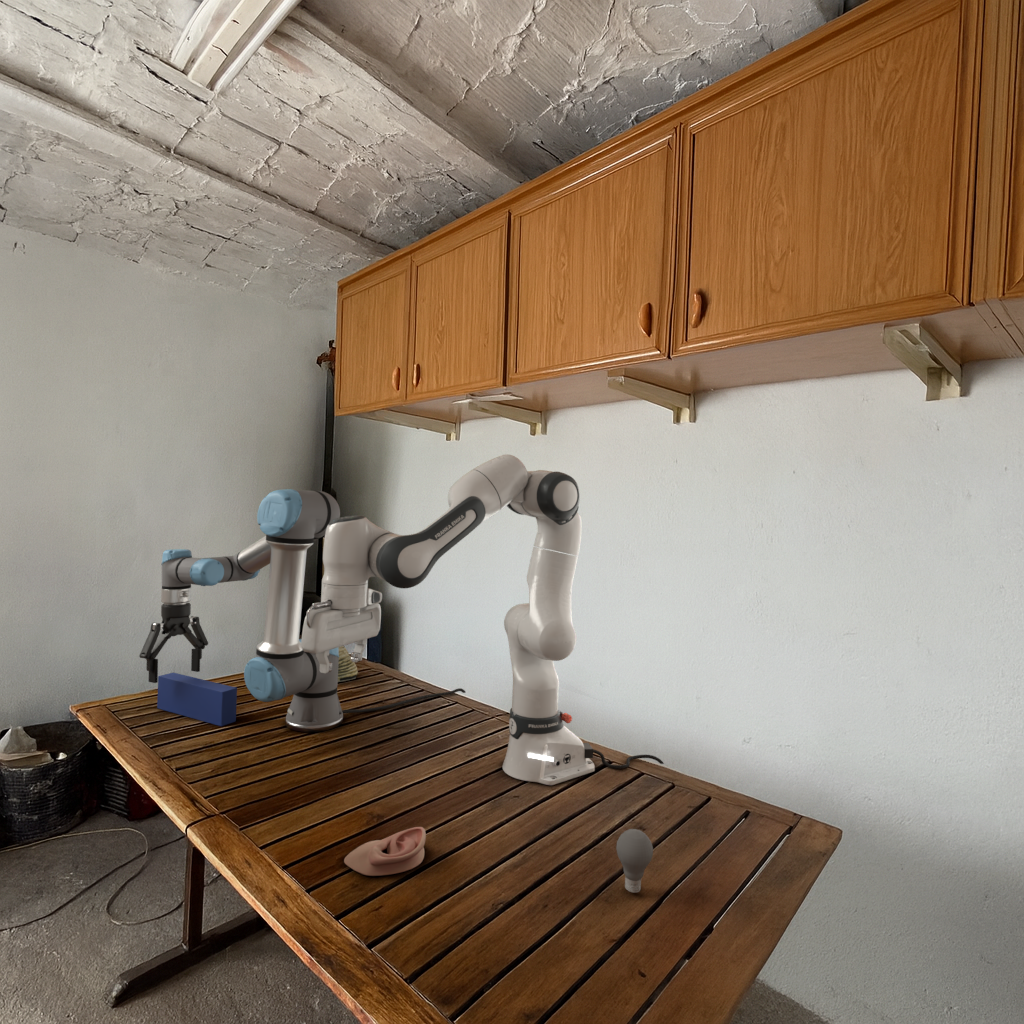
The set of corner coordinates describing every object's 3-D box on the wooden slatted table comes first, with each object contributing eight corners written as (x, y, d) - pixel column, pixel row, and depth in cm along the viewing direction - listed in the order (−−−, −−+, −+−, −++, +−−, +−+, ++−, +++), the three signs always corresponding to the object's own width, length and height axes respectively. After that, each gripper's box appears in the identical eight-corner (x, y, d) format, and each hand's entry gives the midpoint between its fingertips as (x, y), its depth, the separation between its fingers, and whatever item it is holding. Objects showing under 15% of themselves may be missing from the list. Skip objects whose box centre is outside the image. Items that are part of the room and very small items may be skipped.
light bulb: (610, 879, 108) (613, 822, 108) (644, 879, 109) (647, 822, 109) (619, 902, 102) (622, 840, 102) (655, 901, 103) (658, 840, 103)
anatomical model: (336, 847, 108) (365, 815, 119) (335, 870, 108) (364, 836, 119) (410, 859, 105) (432, 825, 116) (409, 883, 105) (431, 846, 116)
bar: (157, 708, 182) (158, 676, 182) (172, 703, 187) (173, 672, 187) (221, 726, 171) (222, 692, 171) (235, 721, 175) (237, 687, 175)
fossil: (298, 680, 214) (300, 636, 214) (348, 672, 226) (350, 630, 226) (309, 687, 207) (311, 641, 207) (360, 678, 220) (362, 635, 220)
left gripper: (144, 610, 170) (142, 689, 170) (221, 598, 192) (220, 668, 192) (125, 607, 173) (124, 685, 173) (204, 596, 195) (202, 665, 196)
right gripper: (321, 606, 115) (318, 682, 115) (387, 592, 133) (384, 658, 134) (294, 602, 117) (291, 676, 117) (362, 590, 136) (359, 654, 136)
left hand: (175, 676), depth 183 cm, fingers open, 13 cm apart
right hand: (341, 666), depth 126 cm, fingers open, 8 cm apart
